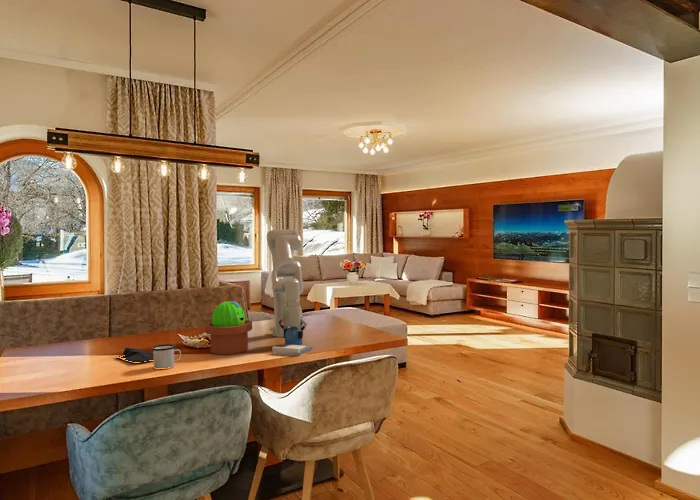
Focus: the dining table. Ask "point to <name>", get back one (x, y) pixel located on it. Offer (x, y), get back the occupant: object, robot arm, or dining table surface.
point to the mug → (164, 355)
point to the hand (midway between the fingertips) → (293, 338)
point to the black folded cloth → (137, 355)
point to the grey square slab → (291, 350)
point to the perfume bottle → (292, 336)
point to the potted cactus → (228, 329)
